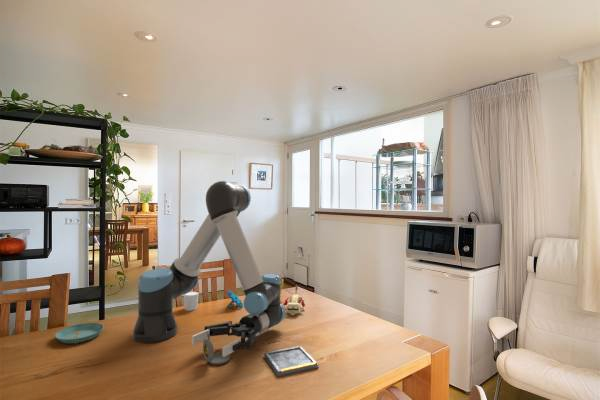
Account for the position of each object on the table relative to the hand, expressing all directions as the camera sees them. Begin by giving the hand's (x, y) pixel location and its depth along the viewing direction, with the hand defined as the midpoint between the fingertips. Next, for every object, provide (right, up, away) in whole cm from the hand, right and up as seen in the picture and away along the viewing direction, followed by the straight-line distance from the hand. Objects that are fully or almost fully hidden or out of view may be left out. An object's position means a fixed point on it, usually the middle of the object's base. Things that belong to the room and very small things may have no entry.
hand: (207, 346), depth 99 cm
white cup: (-22, -6, +51) cm, 56 cm away
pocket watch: (+2, -6, +3) cm, 7 cm away
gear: (-2, -6, +55) cm, 55 cm away
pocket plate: (+25, -6, +3) cm, 26 cm away
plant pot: (+14, -6, +67) cm, 69 cm away
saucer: (-52, -6, +19) cm, 56 cm away
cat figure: (+26, -7, +55) cm, 61 cm away
